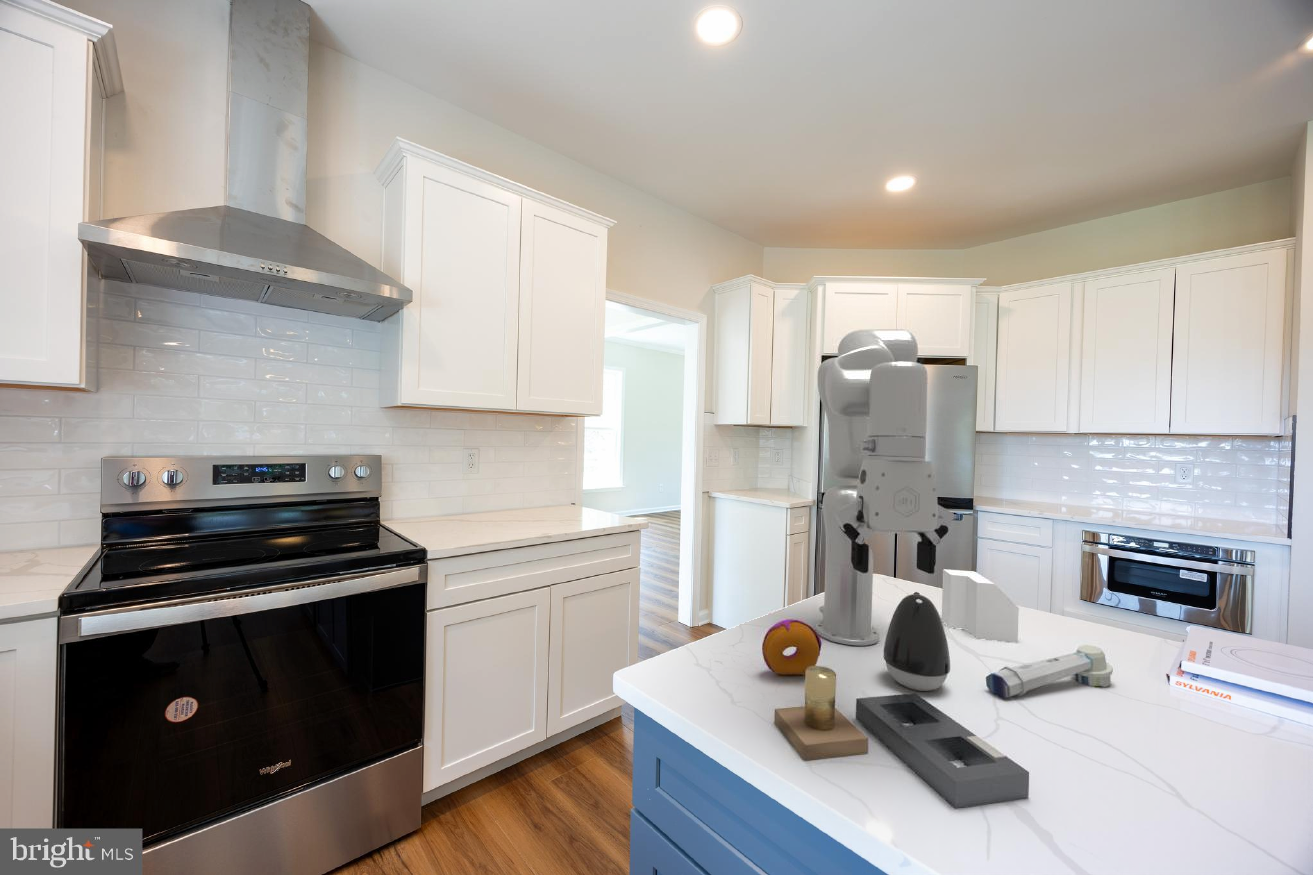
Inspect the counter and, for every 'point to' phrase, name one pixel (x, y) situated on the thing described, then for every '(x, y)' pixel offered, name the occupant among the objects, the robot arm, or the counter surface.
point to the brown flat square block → (820, 735)
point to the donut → (791, 636)
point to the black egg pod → (917, 645)
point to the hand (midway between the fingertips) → (892, 571)
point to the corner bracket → (978, 606)
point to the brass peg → (820, 698)
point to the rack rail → (942, 751)
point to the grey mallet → (1052, 672)
